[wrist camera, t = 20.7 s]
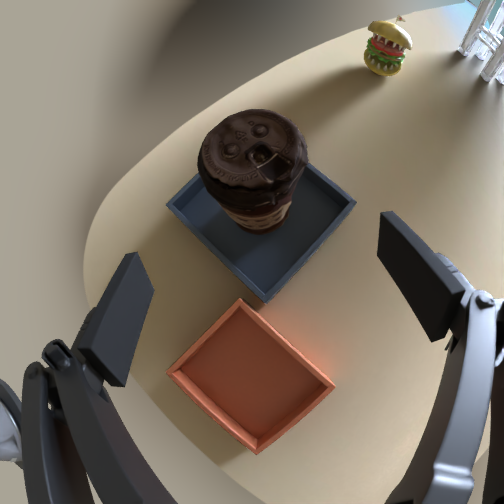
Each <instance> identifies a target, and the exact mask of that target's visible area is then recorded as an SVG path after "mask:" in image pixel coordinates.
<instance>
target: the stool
mask: <svg viewBox="0 0 504 504" xmlns="http://www.w3.org/2000/svg"><path fill="white" fill-rule="evenodd" d="M495 2H496V0H481V2H480V5H479V7H478V9H477V11H476V13H475V16H474V18H473V20H472V22H471V24H470V26H469V28H468V30H467V32H466V34H465V36H464V38H463V40H462V42H461V44H460V46H459V48H458V51H459V52H460V53H461V54H462V55H464V56H468V55H469V53H470V51H471V49H472V47H473V46H474V44H475V42H476V40H477V38H478V39H479V40H480V41H481V42H482V43H481V45H480V46H479V48H478V50H477V52H476V53H475V54H476V55H477V57H478V58H479V59H481V60H484V59H485V58H486V56H487V55H488V53H489V51H491V52H492V53H493V55H492V56H491V58H490V59H489V61H488V63H487V64H486V66H485V67H484V69H483V70H482V72H481V73H480V75H481V76H482V78H483V79H484V80H485V81H489V82H490V80H491V79H492V77H493V76H494V74H495V73H496V72H497V70H498V69H499V67H500V66H501V64H502V63H503V61H504V36H503V37H502V36H501V35H500V32H501V30H502V29H503V27H504V0H503V2H502V4H501V6H500V8H499V10H498V12H497V14H496V16H495V18H494V20H493V22H492V24H491V26H490V28H489V30H487V29H486V28H485V27H484V25H485V23H486V21H487V19H488V17H489V15H490V12H491V11H492V8H493V6H494V4H495ZM481 31H483V32H484V33H485V34H486V35H485V37H484V38H483V37H482V36H481V35H480V33H481ZM497 37H498V38H500V39H501V41H500V42H499V41H498V40H497ZM493 44H494V45H495V46H496V47H497V48H496V50H495V49H494V48H493V47H492V46H493ZM496 78H497V80H498V81H499V82H500V84H504V66H503V68H502V69H501V71H500V72H499V74H498V75H497V77H496Z"/></svg>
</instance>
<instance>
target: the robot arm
mask: <svg viewBox="0 0 504 504" xmlns="http://www.w3.org/2000/svg"><path fill="white" fill-rule="evenodd" d="M377 257H378V258H379V259H380V261H381V262H382V264H383V265H384V267H385V268H386V270H387V271H388V273H389V274H390V275H391V277H392V279H393V280H394V282H395V283H396V285H397V286H398V288H399V289H400V291H401V292H402V294H403V296H404V297H405V299H406V300H407V302H408V304H409V305H410V307H411V308H412V310H413V312H414V313H415V315H416V317H417V318H418V320H419V322H420V324H421V325H422V327H423V329H424V330H425V332H426V334H427V336H428V338H429V339H430V341H431V343H432V342H435V341H437V340H440V339H442V338H445V336H446V334H447V332H448V330H449V328H450V330H451V332H452V333H453V335H452V337H451V338H450V340H449V342H448V344H447V346H446V348H445V350H446V351H447V349H448V347H449V349H448V354H447V358H446V363H445V367H444V371H443V375H442V379H441V382H440V386H439V390H438V393H437V396H436V400H435V403H434V406H433V409H432V412H431V415H430V417H429V420H428V423H427V426H426V428H425V431H424V433H423V436H422V438H421V441H420V443H419V445H418V448H417V450H416V452H415V454H414V457H413V459H412V461H411V463H410V465H409V467H408V469H407V471H406V473H405V475H404V477H403V479H402V480H401V482H400V483H399V484H398V485H397V486H396V488H395V489H394V490H393V491H392V493H391V494H390V496H389V497H388V499H387V500H386V502H385V503H384V504H467V502H468V500H469V498H470V496H471V493H472V490H473V487H474V479H473V477H472V476H471V471H472V467H473V465H474V462H475V459H476V456H477V453H478V449H479V446H480V442H481V439H482V435H483V431H484V427H485V423H486V418H487V414H488V409H489V403H490V397H491V430H490V446H489V457H488V465H487V472H486V478H485V485H484V491H483V500H482V504H504V299H494V298H493V297H492V296H491V295H490V294H489V293H488V292H485V291H483V290H475V289H474V288H473V286H472V285H471V284H470V283H469V282H468V280H467V279H466V278H465V277H464V276H463V275H462V273H461V272H459V270H458V269H457V268H456V267H455V266H454V264H453V263H452V262H451V261H450V260H449V259H448V258H447V257H445V256H444V255H442V254H440V253H434V252H433V251H432V250H431V249H430V248H429V247H428V246H427V244H426V243H425V242H424V241H423V240H422V239H421V238H420V237H419V236H418V235H417V234H416V233H415V232H414V231H413V230H412V229H411V228H410V227H409V226H408V225H407V224H406V223H405V222H404V221H403V220H402V219H401V218H400V217H399V216H397V215H396V214H395V213H394V212H393V211H387V212H380V227H379V239H378V249H377ZM154 291H155V290H154V288H153V286H152V283H151V281H150V279H149V277H148V275H147V273H146V270H145V268H144V266H143V264H142V261H141V259H140V257H139V254H138V252H133V253H128V254H125V256H124V258H123V259H122V261H121V263H120V265H119V266H118V268H117V270H116V272H115V273H114V275H113V277H112V279H111V280H110V282H109V284H108V286H107V288H106V290H105V291H104V293H103V295H102V297H101V299H100V301H99V303H98V305H97V307H94V308H93V309H92V310H91V311H90V312H89V313H88V314H87V316H86V319H85V320H84V324H83V325H82V327H81V328H80V331H79V333H78V335H77V337H76V339H75V341H74V343H73V345H72V348H71V350H70V349H69V348H68V347H67V346H66V345H65V343H64V342H63V341H62V340H60V339H55V340H53V341H51V342H50V343H48V344H47V345H46V347H45V348H44V350H43V352H42V359H43V360H44V361H45V362H46V363H47V364H48V365H49V367H47V368H44V367H43V365H41V363H40V362H37V361H36V362H33V363H31V364H30V365H29V366H28V367H27V369H26V371H25V373H24V379H23V389H22V404H21V428H20V426H19V424H18V422H17V420H16V418H15V417H14V415H13V413H12V412H11V410H10V409H9V407H8V406H7V404H6V403H5V402H4V401H3V400H2V399H1V398H0V460H2V461H11V462H15V461H22V462H23V471H24V479H25V486H26V492H27V498H28V503H29V504H95V503H94V500H93V496H92V493H91V489H90V486H89V482H88V478H87V474H88V476H89V478H90V480H91V482H92V484H93V486H94V488H95V490H96V492H97V494H98V496H99V498H100V500H101V501H102V503H103V504H178V503H177V502H176V501H175V500H174V498H173V497H172V496H171V495H170V493H169V492H168V491H167V490H166V488H165V487H164V486H163V484H162V483H161V482H160V480H159V479H158V478H157V476H156V475H155V473H154V472H153V470H152V469H151V468H150V466H149V465H148V463H147V462H146V460H145V459H144V457H143V456H142V454H141V452H140V451H139V450H138V448H137V446H136V445H135V443H134V441H133V439H132V438H131V436H130V434H129V433H128V431H127V429H126V427H125V426H124V424H123V422H122V420H121V418H120V416H119V415H118V412H117V411H116V409H115V407H114V405H113V403H112V401H111V399H110V397H109V394H108V392H107V390H106V389H105V388H104V386H103V382H104V379H105V380H106V381H107V382H108V383H109V384H110V385H111V386H116V387H125V384H126V381H127V377H128V374H129V370H130V366H131V363H132V359H133V356H134V353H135V349H136V346H137V343H138V339H139V336H140V333H141V330H142V327H143V324H144V320H145V317H146V314H147V311H148V308H149V306H150V303H151V300H152V297H153V294H154ZM48 403H49V404H50V405H51V410H50V409H49V408H48ZM86 472H87V474H86Z"/></svg>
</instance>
